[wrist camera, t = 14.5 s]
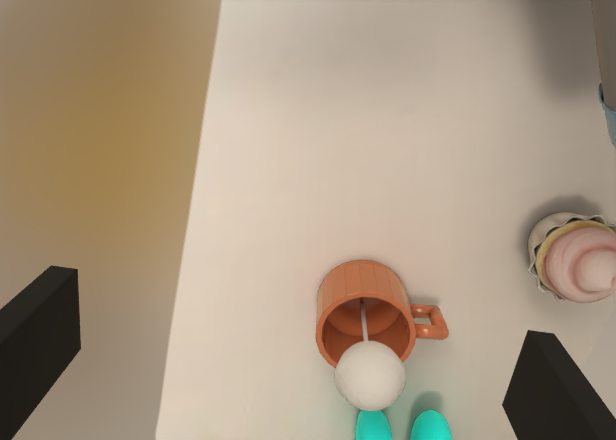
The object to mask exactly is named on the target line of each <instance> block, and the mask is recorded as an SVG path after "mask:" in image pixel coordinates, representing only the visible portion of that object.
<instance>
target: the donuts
mask: <svg viewBox="0 0 616 440" xmlns="http://www.w3.org/2000/svg"><path fill="white" fill-rule="evenodd" d="M355 440H392V436H391V430H390V426H389V422H388V420H387V418H386V416H385V415H384V413H383V412H382V411H381V410H378V411H365V410H361V411H360V413H359V415H358V419H357V425H356V437H355ZM410 440H452V436H451V432H450V428H449V426H448V423H447V421H446V419H445V418H444V417H443V416H442V414H440V413H439V412H437V411H434V410H427V411H424V412H423V413H421V414H420V415H419V416H418V417H417V419H416V420H415V422H414V425H413V428H412V432H411V438H410Z"/></svg>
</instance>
